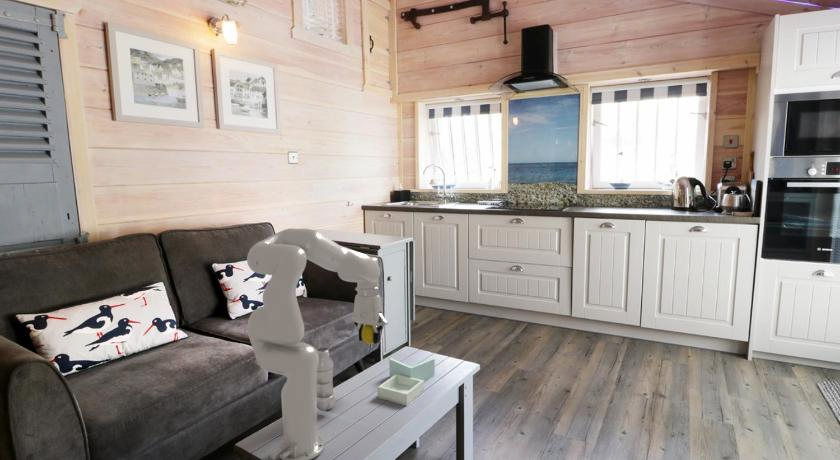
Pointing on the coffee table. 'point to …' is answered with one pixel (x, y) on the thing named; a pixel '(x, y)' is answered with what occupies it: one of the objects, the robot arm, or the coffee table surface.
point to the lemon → (368, 334)
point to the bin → (401, 389)
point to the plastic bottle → (324, 381)
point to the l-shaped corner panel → (413, 369)
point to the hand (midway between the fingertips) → (369, 340)
